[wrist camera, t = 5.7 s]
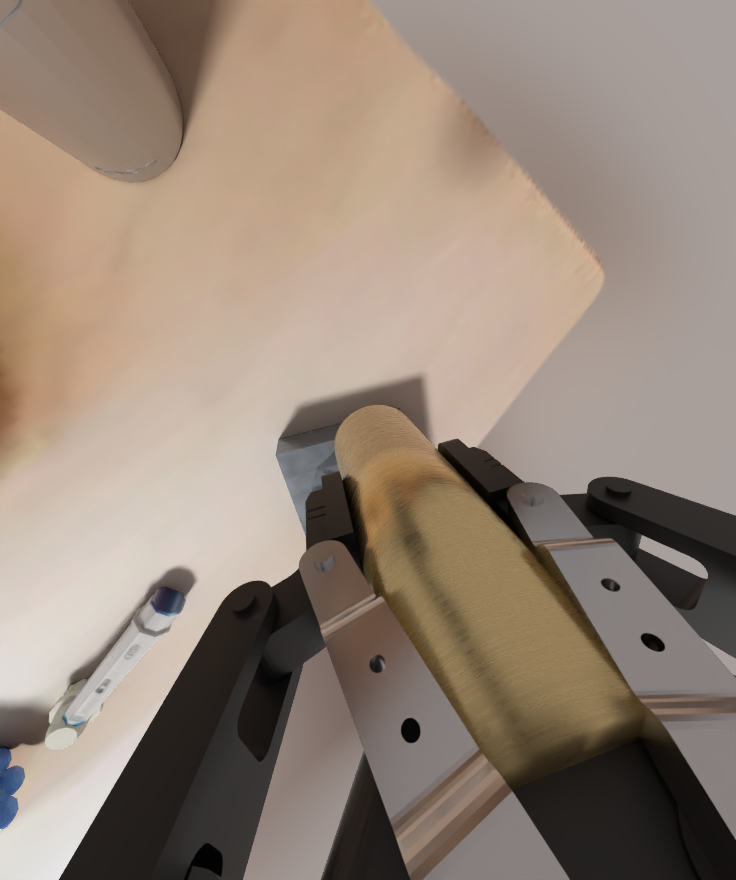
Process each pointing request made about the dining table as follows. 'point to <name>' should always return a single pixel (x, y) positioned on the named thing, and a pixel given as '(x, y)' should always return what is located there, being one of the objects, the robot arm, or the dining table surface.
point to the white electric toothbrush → (112, 669)
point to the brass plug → (479, 606)
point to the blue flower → (8, 788)
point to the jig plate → (307, 463)
